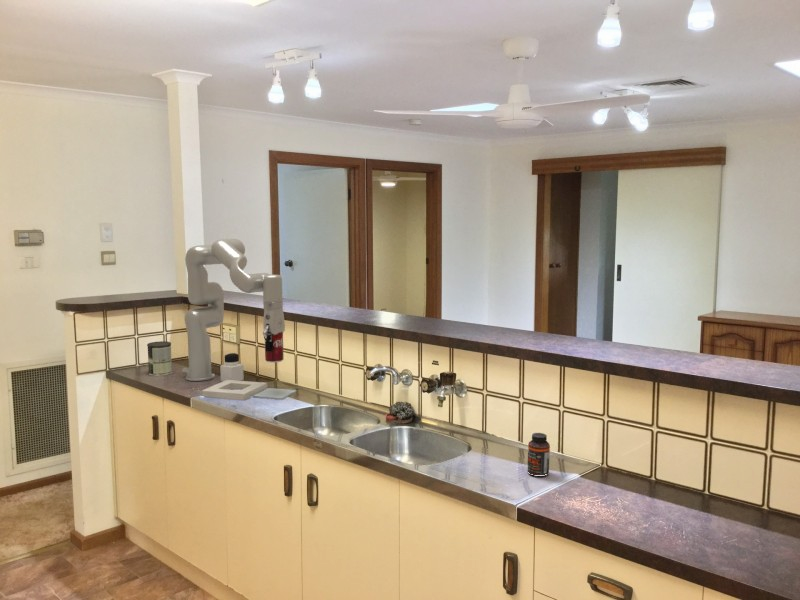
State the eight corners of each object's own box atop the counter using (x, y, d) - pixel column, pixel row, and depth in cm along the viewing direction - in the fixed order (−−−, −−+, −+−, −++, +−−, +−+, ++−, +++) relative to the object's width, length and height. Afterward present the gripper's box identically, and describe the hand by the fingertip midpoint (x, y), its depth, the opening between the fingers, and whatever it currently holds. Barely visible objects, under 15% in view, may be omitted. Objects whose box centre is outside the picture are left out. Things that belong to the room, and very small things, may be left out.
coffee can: (143, 375, 308) (142, 344, 307) (158, 370, 318) (157, 340, 316) (162, 376, 305) (161, 346, 303) (177, 371, 315) (175, 342, 313)
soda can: (285, 359, 276) (285, 330, 274) (280, 363, 268) (280, 333, 267) (268, 358, 276) (267, 329, 275) (262, 362, 269) (262, 332, 268)
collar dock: (201, 396, 271) (201, 390, 270) (227, 385, 289) (226, 379, 288) (244, 400, 265) (244, 394, 265) (267, 388, 283) (267, 382, 283)
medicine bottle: (244, 380, 298) (243, 353, 297) (231, 383, 293) (230, 356, 291) (232, 378, 302) (232, 351, 301) (220, 381, 297) (219, 354, 295)
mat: (252, 397, 270) (252, 395, 270) (268, 389, 282) (268, 388, 282) (282, 399, 266) (282, 398, 266) (296, 391, 278) (296, 390, 278)
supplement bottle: (523, 475, 188) (524, 435, 186) (532, 468, 193) (533, 430, 191) (544, 479, 185) (545, 439, 183) (552, 472, 189) (553, 433, 188)
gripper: (271, 308, 260) (272, 354, 263) (291, 303, 277) (292, 345, 279) (253, 308, 263) (255, 352, 265) (274, 302, 279) (275, 345, 281)
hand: (274, 349), depth 272 cm, fingers closed on soda can, 7 cm apart
